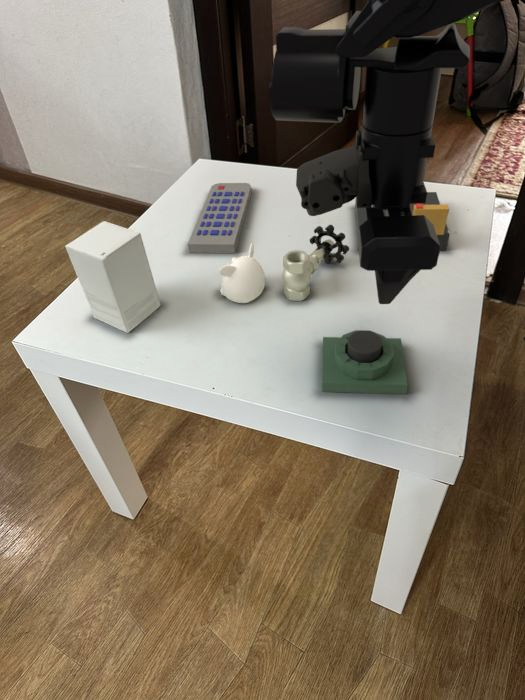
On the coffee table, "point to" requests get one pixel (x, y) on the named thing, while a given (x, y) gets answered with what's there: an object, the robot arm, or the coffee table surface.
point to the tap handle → (433, 215)
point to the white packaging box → (115, 275)
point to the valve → (310, 262)
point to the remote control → (221, 219)
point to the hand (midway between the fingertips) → (379, 275)
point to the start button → (364, 346)
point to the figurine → (242, 278)
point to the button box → (363, 368)
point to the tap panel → (430, 200)
